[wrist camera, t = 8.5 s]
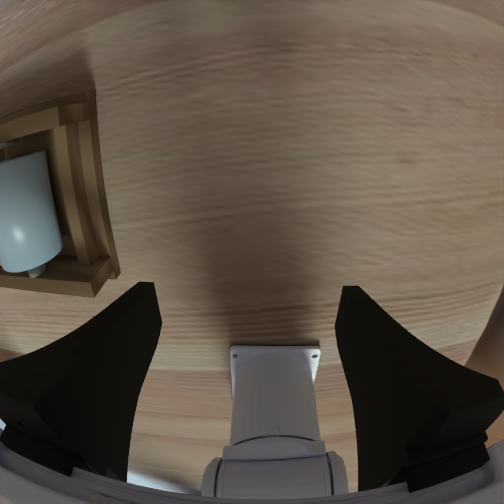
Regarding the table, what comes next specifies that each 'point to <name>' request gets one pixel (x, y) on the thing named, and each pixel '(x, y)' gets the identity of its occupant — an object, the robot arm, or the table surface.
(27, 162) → the tapered cup
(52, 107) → the holder
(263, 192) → the table surface
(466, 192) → the table surface
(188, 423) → the table surface
